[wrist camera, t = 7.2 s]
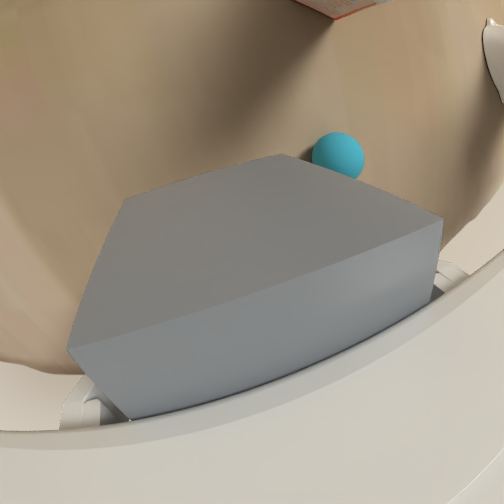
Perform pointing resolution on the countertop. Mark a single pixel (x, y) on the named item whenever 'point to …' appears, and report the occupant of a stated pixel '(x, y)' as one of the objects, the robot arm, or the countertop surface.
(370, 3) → the cracker box
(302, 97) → the countertop surface
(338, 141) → the ball
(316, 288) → the gray faceted wedge
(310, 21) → the countertop surface
